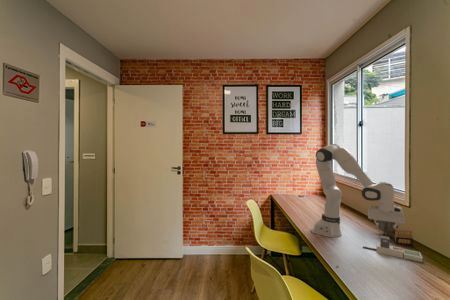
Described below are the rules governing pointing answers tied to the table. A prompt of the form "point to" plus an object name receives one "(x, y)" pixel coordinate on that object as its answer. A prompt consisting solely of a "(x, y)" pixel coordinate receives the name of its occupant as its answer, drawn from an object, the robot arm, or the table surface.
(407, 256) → the parts tray
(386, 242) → the block
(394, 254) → the power strip
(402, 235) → the ammunition clip
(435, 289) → the table surface
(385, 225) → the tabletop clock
